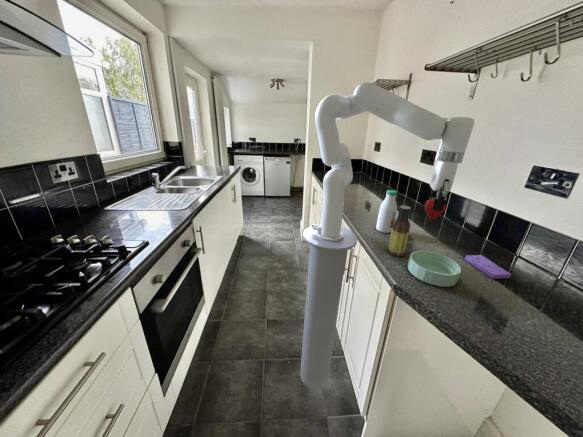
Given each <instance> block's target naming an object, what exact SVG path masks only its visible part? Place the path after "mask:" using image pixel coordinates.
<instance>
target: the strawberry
mask: <svg viewBox="0 0 583 437" xmlns="http://www.w3.org/2000/svg"><path fill="white" fill-rule="evenodd" d="M432 198H433V197H431V198H428V200H426V201H425V202H424V211H425V213H426V215H427V217H428V219H429V220H430V221H433V220H435V219H437V218H438V217H439V216H441V215H442V214H444V212H445V210H446V203H445V204H444V207H443V210H442V211H438V210H433V209H432V206H433V203H434V200H435V198H433V199H432ZM429 199H432V200H429Z"/></svg>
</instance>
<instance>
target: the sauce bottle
mask: <svg viewBox="0 0 583 437" xmlns="http://www.w3.org/2000/svg"><path fill="white" fill-rule="evenodd" d="M411 211H412V207H411V206H408V205H400V206H398V214H397V217H396V218H395V222H394V224H393V226H392V232H390V237H389V243H388V252H389V253H390V254H391V255H393V256H395V257H396V256H397V257H402V256H404V255H405V253H406V248H407V244H408V239H409V235H410V228H411V222H410V220H409V218H410V213H411Z"/></svg>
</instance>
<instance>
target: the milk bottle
mask: <svg viewBox="0 0 583 437" xmlns="http://www.w3.org/2000/svg"><path fill="white" fill-rule="evenodd" d="M397 195H398V191H396V190H393V189H387V190H386V194H385V198H384V200H383V201H382V202H381V204H380V207H379V210H378V216H377V221H376V227H375V228H376V229H375V230H376V231H379V232H380V233H385V234H391V232H392V226H393V224H394V223H395V221H396V218H397V217H396V216H397V211H398V204H397V200H396V197H397Z"/></svg>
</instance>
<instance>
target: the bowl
mask: <svg viewBox="0 0 583 437" xmlns="http://www.w3.org/2000/svg"><path fill="white" fill-rule="evenodd" d="M407 270H408V271H409V272H410V274H411V275H412V276H413V277H415V278H417V279H418V280H420V281H422V282H424V283H426V284H429V285H433V286H437V287H443V288H449V287H454V286H455V285H456V284H457V283H458V281H459V278H460V276H461V273H462V267H461V265H460V264H459V263H458V262H457V261H455V260H454V259H452V258H450V257H449V256H446V255H443V254H442V253H438V252H435V251H429V250H416V251H413V252H411V253H410V255H409V258H408V262H407Z"/></svg>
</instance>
